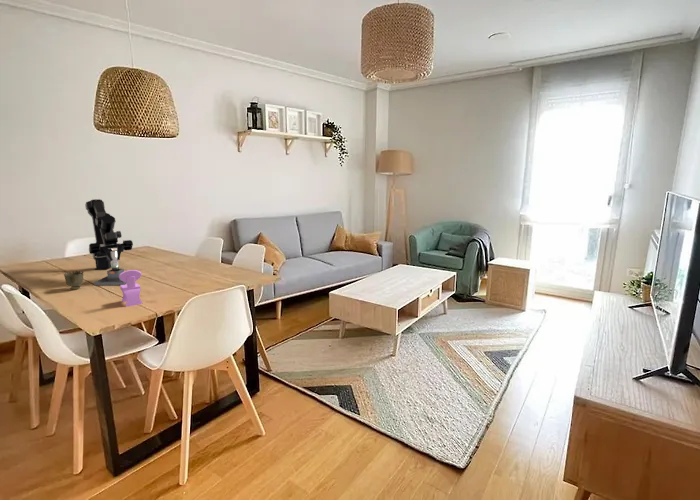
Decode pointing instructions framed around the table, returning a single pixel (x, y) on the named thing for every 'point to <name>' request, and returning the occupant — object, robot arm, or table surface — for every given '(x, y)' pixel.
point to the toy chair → (130, 287)
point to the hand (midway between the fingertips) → (115, 260)
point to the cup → (74, 279)
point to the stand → (111, 278)
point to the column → (114, 260)
